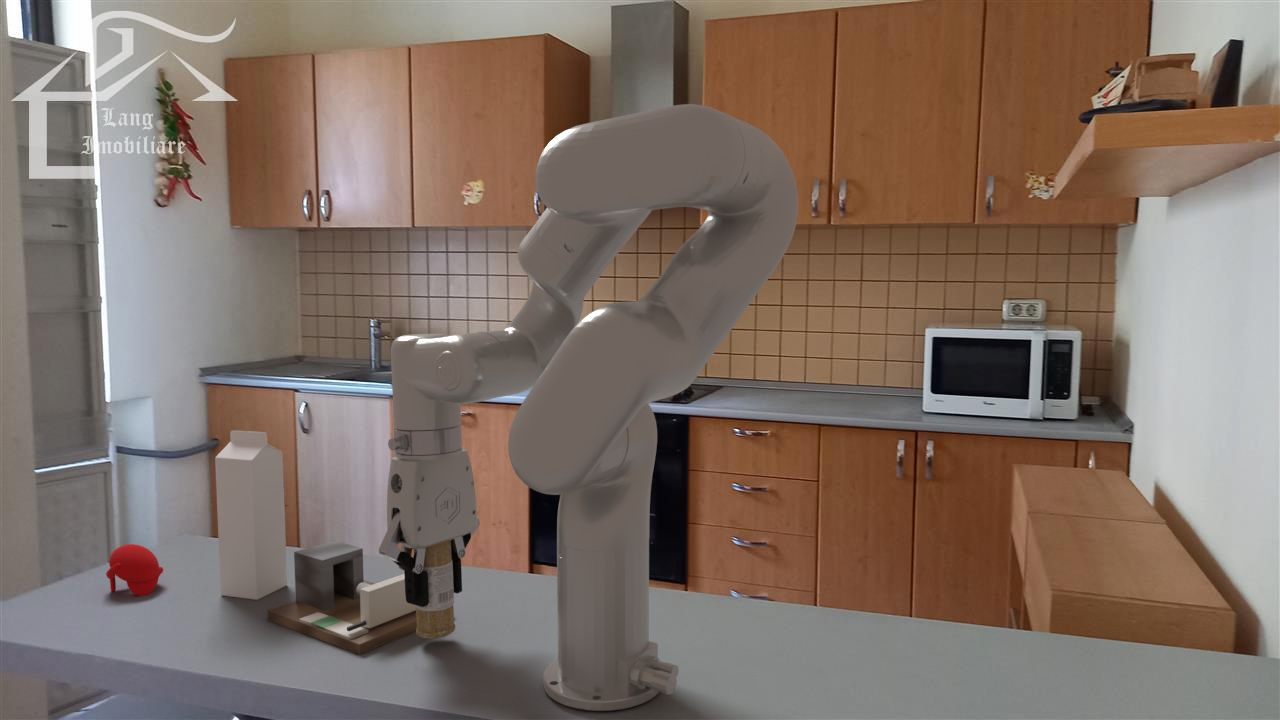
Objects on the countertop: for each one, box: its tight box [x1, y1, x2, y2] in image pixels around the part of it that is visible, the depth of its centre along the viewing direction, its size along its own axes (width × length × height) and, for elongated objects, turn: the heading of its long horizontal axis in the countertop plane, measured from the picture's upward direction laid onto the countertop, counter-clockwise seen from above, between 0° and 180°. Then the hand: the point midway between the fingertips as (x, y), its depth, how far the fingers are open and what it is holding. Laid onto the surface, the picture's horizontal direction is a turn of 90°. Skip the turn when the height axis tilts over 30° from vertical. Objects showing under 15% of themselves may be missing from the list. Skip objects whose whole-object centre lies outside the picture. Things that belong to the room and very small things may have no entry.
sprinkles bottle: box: [413, 540, 456, 640], centre depth 101 cm, size 5×5×14 cm
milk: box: [214, 430, 288, 601], centre depth 118 cm, size 6×6×22 cm
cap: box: [105, 543, 164, 597], centre depth 119 cm, size 8×6×6 cm
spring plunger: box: [347, 573, 416, 631], centre depth 106 cm, size 7×10×4 cm, turn 145°
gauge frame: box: [266, 540, 417, 656], centre depth 109 cm, size 18×14×8 cm
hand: (434, 595), depth 101 cm, fingers closed on sprinkles bottle, 4 cm apart
